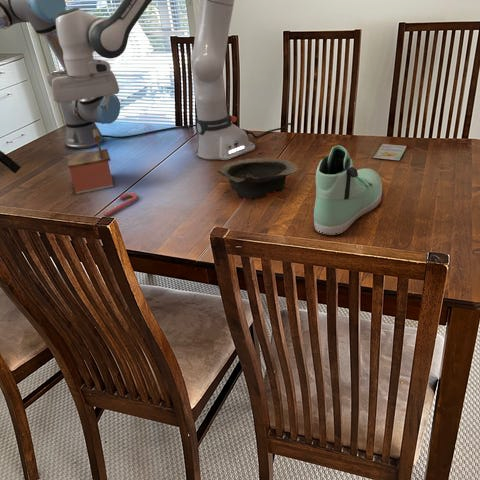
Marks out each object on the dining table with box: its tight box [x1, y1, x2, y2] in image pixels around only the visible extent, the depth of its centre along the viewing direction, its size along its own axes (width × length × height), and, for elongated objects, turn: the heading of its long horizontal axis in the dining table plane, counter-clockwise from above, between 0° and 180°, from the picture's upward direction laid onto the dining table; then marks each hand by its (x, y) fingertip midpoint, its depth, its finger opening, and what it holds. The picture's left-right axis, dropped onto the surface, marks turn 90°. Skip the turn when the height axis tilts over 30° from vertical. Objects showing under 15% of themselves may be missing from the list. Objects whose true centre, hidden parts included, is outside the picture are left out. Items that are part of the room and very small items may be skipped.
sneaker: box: [313, 145, 383, 236], centre depth 133 cm, size 14×35×20 cm, turn 152°
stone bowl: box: [217, 157, 299, 201], centre depth 152 cm, size 25×25×9 cm
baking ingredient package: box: [373, 143, 407, 161], centre depth 172 cm, size 9×1×15 cm
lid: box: [67, 129, 111, 169], centre depth 159 cm, size 13×10×9 cm
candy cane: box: [103, 192, 139, 218], centre depth 150 cm, size 6×15×2 cm, turn 145°
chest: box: [68, 161, 115, 195], centre depth 164 cm, size 13×10×9 cm
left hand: (11, 164), depth 156 cm, fingers open, 13 cm apart
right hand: (91, 111), depth 155 cm, fingers open, 8 cm apart
